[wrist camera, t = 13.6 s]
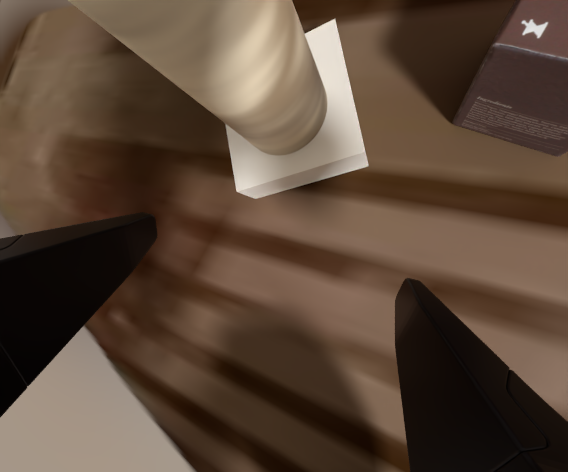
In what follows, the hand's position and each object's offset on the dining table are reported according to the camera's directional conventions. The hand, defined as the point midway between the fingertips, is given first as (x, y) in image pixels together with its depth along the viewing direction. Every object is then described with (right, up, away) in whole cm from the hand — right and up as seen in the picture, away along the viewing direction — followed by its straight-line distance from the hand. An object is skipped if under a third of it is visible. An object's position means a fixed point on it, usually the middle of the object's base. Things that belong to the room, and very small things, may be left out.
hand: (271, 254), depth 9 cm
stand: (+1, +9, +12) cm, 15 cm away
